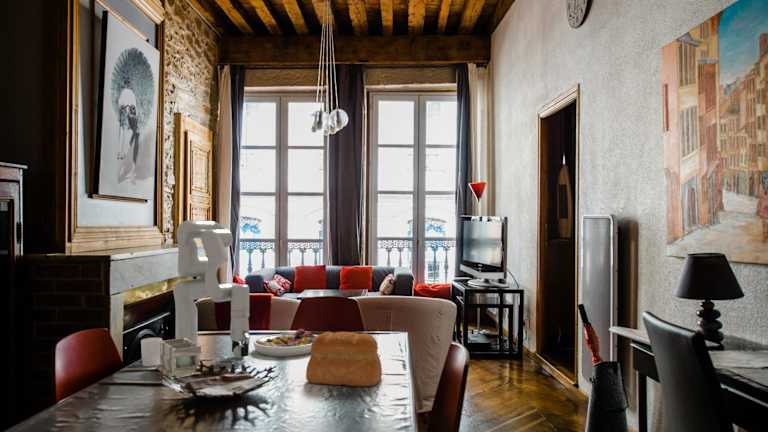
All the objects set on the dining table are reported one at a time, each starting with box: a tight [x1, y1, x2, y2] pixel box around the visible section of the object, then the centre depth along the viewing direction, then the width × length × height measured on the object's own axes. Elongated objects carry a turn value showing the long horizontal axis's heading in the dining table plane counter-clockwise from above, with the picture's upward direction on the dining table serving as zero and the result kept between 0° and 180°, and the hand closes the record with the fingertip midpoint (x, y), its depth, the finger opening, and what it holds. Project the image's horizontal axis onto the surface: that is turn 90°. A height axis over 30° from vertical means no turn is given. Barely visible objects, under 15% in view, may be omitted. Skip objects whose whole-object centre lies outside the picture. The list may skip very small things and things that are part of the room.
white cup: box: [140, 337, 163, 367], centre depth 210 cm, size 8×8×10 cm
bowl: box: [253, 328, 319, 358], centre depth 233 cm, size 30×30×8 cm
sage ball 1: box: [176, 356, 191, 368], centre depth 195 cm, size 6×6×6 cm
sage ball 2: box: [232, 344, 246, 360], centre depth 218 cm, size 6×6×6 cm
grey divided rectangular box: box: [155, 338, 202, 377], centre depth 199 cm, size 21×12×10 cm, turn 38°
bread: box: [305, 331, 383, 387], centre depth 185 cm, size 16×26×17 cm, turn 77°
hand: (240, 354), depth 218 cm, fingers open, 9 cm apart
